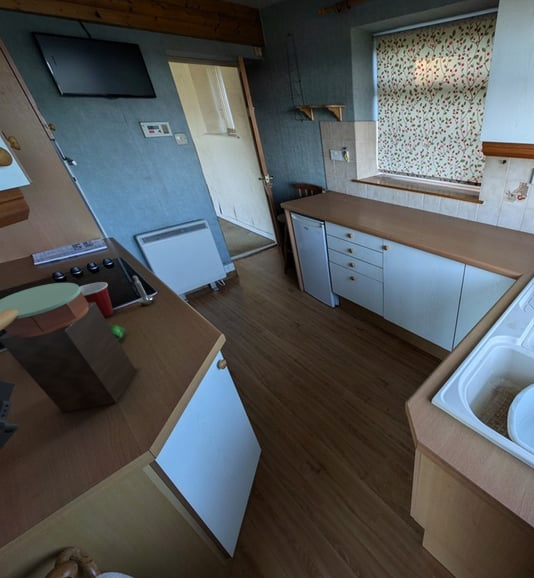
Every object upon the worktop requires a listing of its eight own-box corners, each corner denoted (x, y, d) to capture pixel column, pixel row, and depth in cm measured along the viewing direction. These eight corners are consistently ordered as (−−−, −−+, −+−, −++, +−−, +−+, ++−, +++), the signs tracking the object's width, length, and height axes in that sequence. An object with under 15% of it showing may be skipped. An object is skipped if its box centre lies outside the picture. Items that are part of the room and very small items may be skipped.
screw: (141, 308, 116) (139, 303, 119) (155, 303, 119) (153, 298, 122) (126, 279, 109) (125, 275, 112) (142, 276, 112) (140, 271, 115)
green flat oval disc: (25, 292, 72) (17, 281, 70) (95, 285, 75) (89, 274, 73) (-89, 365, 50) (-104, 353, 49) (16, 351, 54) (6, 339, 52)
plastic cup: (120, 303, 119) (106, 277, 113) (122, 315, 112) (107, 288, 106) (85, 313, 113) (68, 286, 107) (84, 326, 106) (66, 299, 100)
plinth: (56, 415, 75) (-27, 323, 60) (87, 376, 86) (24, 289, 71) (118, 404, 78) (54, 314, 63) (140, 367, 90) (90, 283, 74)
